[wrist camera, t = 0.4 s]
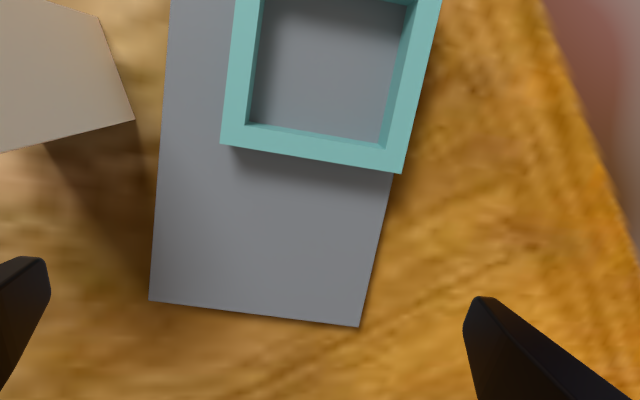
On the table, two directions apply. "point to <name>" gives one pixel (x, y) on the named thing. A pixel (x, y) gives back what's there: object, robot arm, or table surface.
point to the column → (55, 75)
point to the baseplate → (283, 150)
